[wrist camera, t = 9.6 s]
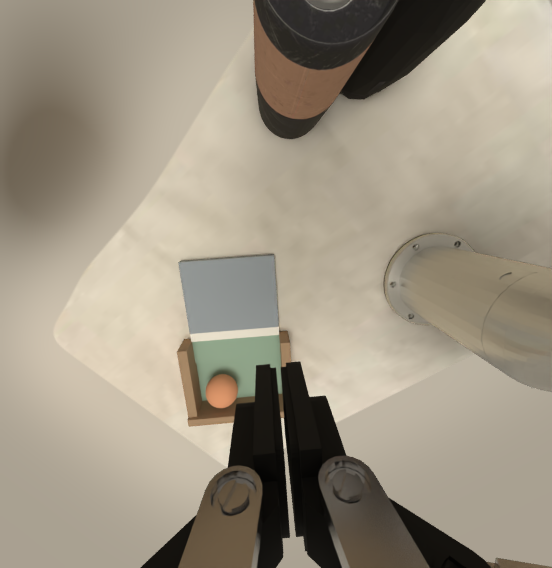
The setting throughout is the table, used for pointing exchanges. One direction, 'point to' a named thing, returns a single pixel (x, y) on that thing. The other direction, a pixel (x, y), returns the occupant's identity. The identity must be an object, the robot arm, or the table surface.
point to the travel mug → (309, 55)
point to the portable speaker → (407, 42)
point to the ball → (221, 391)
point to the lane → (229, 331)
